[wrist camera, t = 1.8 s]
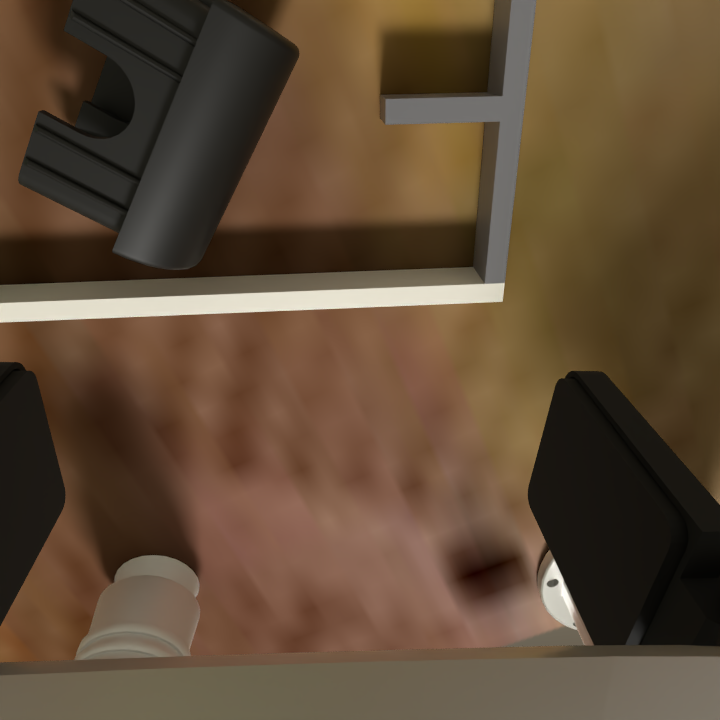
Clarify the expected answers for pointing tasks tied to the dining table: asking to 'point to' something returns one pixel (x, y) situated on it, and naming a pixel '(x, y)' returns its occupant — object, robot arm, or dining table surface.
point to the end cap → (161, 122)
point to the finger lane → (359, 287)
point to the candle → (145, 612)
